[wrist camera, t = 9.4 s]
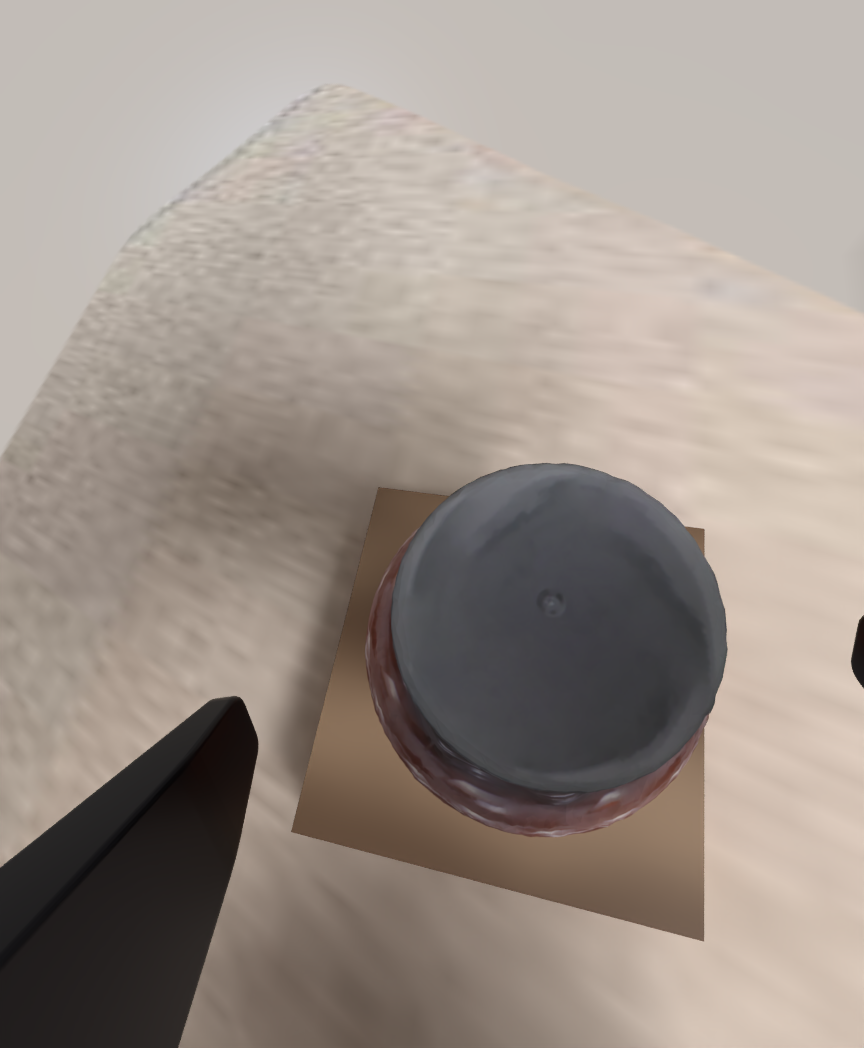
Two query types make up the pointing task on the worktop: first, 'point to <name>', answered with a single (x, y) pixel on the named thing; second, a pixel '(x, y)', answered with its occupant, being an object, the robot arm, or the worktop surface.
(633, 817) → the walnut plinth
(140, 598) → the worktop surface
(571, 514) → the supplement bottle
